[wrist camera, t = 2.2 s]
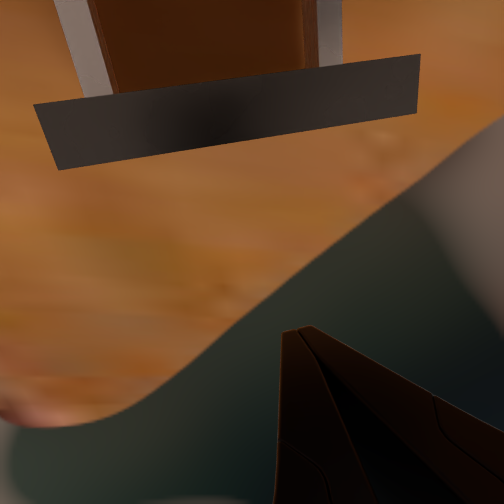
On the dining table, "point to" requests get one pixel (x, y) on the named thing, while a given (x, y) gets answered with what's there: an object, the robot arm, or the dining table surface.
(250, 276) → the dining table surface
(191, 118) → the frame
